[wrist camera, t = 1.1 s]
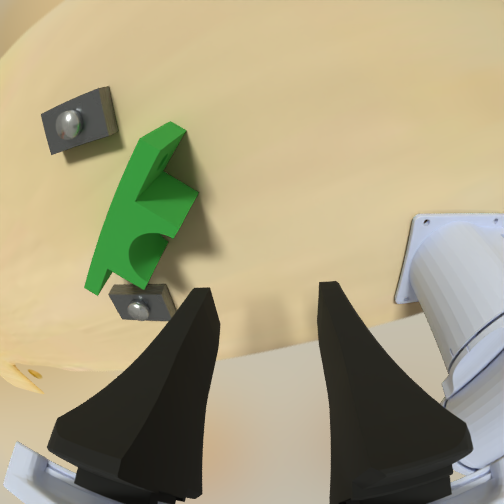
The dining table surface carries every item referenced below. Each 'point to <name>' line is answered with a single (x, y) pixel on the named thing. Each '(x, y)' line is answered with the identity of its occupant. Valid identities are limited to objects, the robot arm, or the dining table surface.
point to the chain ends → (89, 129)
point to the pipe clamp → (142, 213)
